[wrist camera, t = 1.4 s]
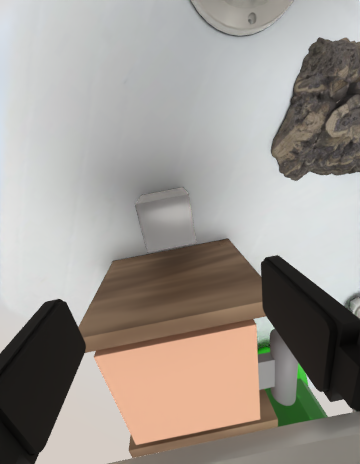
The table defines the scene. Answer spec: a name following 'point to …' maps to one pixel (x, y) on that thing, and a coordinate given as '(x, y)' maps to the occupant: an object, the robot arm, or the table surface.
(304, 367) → the robot arm
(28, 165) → the table surface
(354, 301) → the screw
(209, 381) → the trapdoor
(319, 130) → the rock specimen
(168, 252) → the wooden bench
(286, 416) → the plastic bottle
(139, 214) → the grey cube
